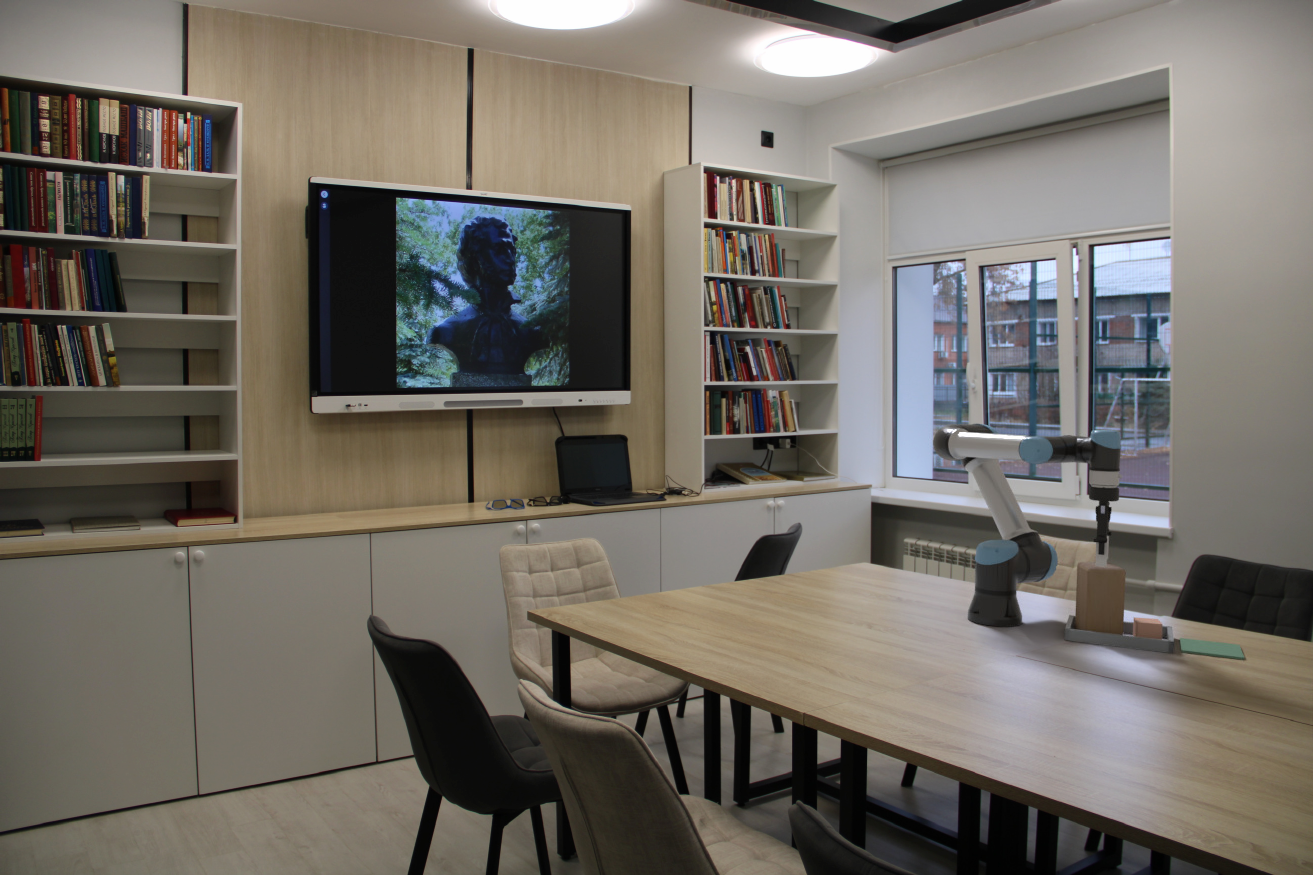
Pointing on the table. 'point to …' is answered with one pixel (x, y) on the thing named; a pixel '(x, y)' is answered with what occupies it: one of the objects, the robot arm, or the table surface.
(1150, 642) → the bin
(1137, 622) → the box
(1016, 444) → the robot arm
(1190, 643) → the pad
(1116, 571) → the wooden block
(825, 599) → the table surface
